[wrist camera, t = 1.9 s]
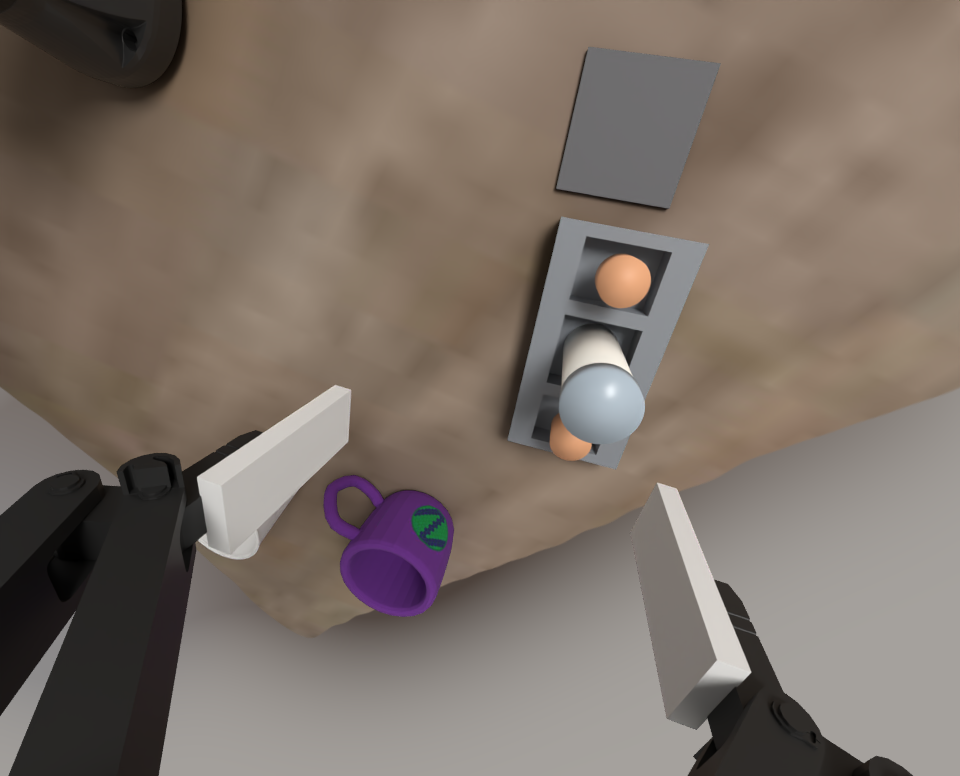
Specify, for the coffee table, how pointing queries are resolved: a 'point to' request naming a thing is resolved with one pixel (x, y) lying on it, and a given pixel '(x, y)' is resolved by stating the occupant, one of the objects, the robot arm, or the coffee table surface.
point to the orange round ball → (566, 442)
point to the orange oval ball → (622, 280)
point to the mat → (634, 125)
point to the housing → (600, 319)
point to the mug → (393, 548)
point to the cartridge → (598, 387)
